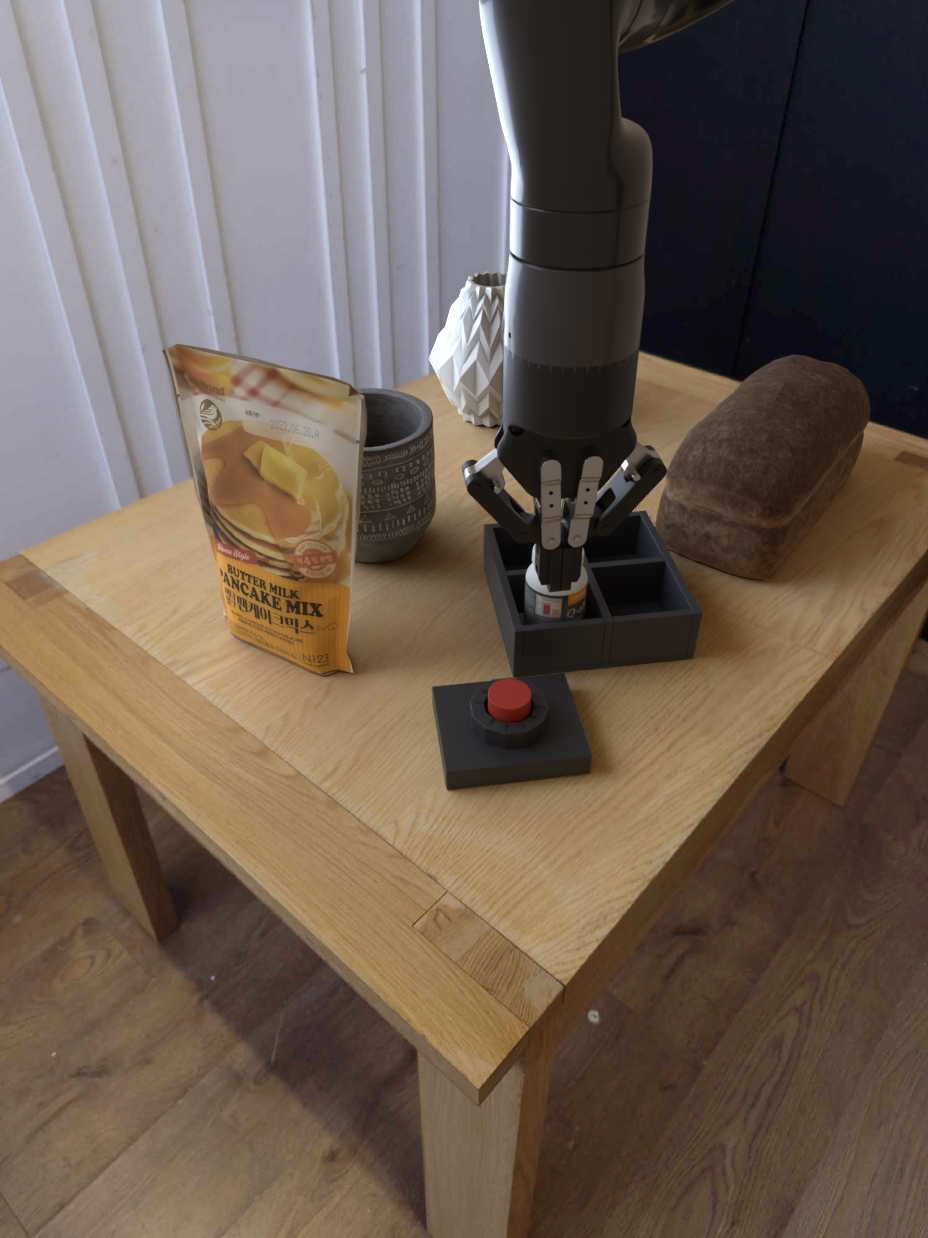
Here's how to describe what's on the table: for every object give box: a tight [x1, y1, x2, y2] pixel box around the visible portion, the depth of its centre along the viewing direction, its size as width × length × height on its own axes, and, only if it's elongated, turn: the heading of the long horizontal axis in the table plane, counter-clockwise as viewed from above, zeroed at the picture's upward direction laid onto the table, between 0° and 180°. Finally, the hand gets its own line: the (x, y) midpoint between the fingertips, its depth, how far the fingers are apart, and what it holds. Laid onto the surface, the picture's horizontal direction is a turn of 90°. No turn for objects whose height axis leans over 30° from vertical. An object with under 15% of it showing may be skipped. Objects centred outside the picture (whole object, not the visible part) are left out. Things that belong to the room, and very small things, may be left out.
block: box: [431, 672, 593, 791], centre depth 75 cm, size 12×10×4 cm
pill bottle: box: [524, 544, 588, 625], centre depth 82 cm, size 6×6×10 cm
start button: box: [488, 679, 531, 723], centre depth 73 cm, size 4×4×2 cm
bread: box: [654, 354, 872, 580], centre depth 99 cm, size 15×32×16 cm, turn 143°
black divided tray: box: [483, 510, 703, 678], centre depth 88 cm, size 17×17×6 cm
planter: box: [354, 387, 437, 564], centre depth 95 cm, size 14×14×15 cm
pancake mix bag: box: [161, 343, 367, 677], centre depth 78 cm, size 7×19×28 cm, turn 58°
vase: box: [428, 270, 507, 428], centre depth 117 cm, size 16×16×18 cm
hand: (557, 584), depth 60 cm, fingers closed
